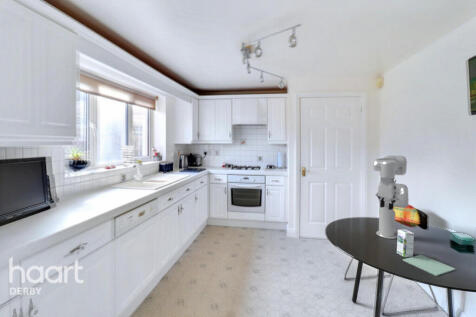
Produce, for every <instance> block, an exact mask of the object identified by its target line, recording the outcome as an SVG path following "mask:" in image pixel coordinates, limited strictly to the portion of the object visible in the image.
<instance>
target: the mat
mask: <svg viewBox="0 0 476 317" xmlns="http://www.w3.org/2000/svg"><path fill="white" fill-rule="evenodd" d="M402 261H403V262H405V263H407V264H409V265H412V266H414V267H415V268H418V269H421V270H422V271H425V272H427V273H429V274H431V275H433V276H435V277H437V276H441V275H443V274H447V273H450V272H453V271H455V270H456V267H455V268H454V267H452V266H449V265H447V264H444V263H443V262H440V261H439V260H438V261H437V260H435V259H433V258H430V257H427V256H426V255H423V254H419V255H415V256H414V255H413V257H406V258H403V259H402Z"/></svg>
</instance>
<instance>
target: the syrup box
mask: <svg viewBox="0 0 476 317" xmlns="http://www.w3.org/2000/svg"><path fill="white" fill-rule="evenodd" d="M414 238H415V233H414V232H412V231H410V230H407V229H398V232H397V242H396V254H399V255H400V256H401V257H403V258H410V257H414V242H415V241H414Z"/></svg>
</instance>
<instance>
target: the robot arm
mask: <svg viewBox="0 0 476 317" xmlns="http://www.w3.org/2000/svg"><path fill="white" fill-rule="evenodd" d="M407 165H408V161H407V158H406V156H405V155H386V156H384V157H382V158H376V159H374V162H373V165H372V168H373V170H374V171H376V172H379V176H380V181H378V182H379V183H378V187H377V192H376V194H375V196H376V198H377V199H378V204H379V205H378V206H379V211H378V212H379V217H378V230H377V231H376V232H375V234H376V235H377V236H378V237H381V238H385V239H391V240H392V239H393V240H394V239H398V234H396V233H398V230H399V229H396V211H395V210H394V208H402V209H406V208H407V207H409V188H408V186H407V185H406V184H404V183H396V182H397V179H396V177H395V176H405V175H406V173H407V169H408V167H407Z"/></svg>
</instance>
